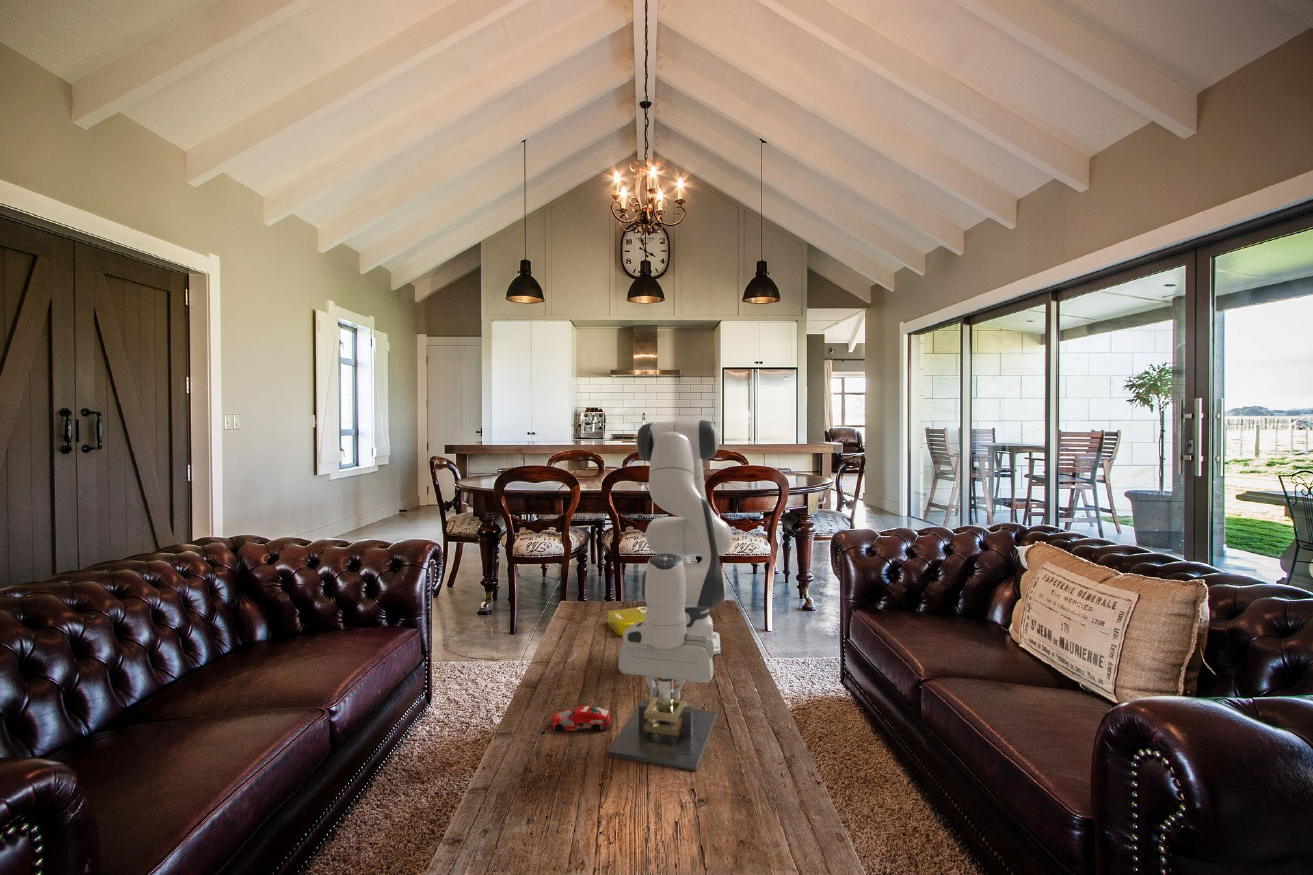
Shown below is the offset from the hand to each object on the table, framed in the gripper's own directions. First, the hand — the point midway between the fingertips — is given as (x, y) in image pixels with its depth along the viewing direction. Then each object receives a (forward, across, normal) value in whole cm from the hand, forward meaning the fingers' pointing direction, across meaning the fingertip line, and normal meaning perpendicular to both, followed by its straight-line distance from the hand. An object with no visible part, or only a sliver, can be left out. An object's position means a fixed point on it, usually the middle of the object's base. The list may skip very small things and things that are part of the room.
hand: (665, 697), depth 125 cm
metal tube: (+5, 0, 0) cm, 5 cm away
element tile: (+9, +28, -63) cm, 70 cm away
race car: (+9, +19, +1) cm, 21 cm away
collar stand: (+8, 0, 0) cm, 8 cm away
